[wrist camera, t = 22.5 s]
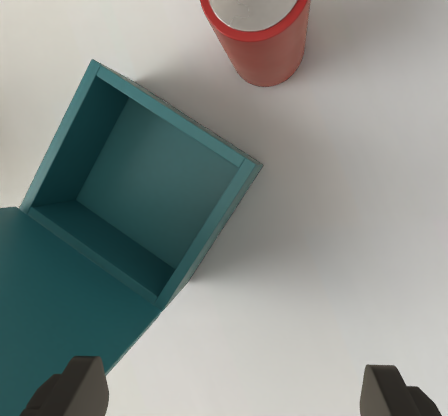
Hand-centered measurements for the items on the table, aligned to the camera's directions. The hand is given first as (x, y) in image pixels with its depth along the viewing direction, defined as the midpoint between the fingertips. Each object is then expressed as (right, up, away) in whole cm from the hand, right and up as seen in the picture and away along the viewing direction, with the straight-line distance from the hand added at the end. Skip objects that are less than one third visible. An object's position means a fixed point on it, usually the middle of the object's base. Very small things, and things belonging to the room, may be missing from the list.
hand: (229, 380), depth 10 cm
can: (+4, +19, +19) cm, 27 cm away
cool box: (-6, +8, +22) cm, 24 cm away
